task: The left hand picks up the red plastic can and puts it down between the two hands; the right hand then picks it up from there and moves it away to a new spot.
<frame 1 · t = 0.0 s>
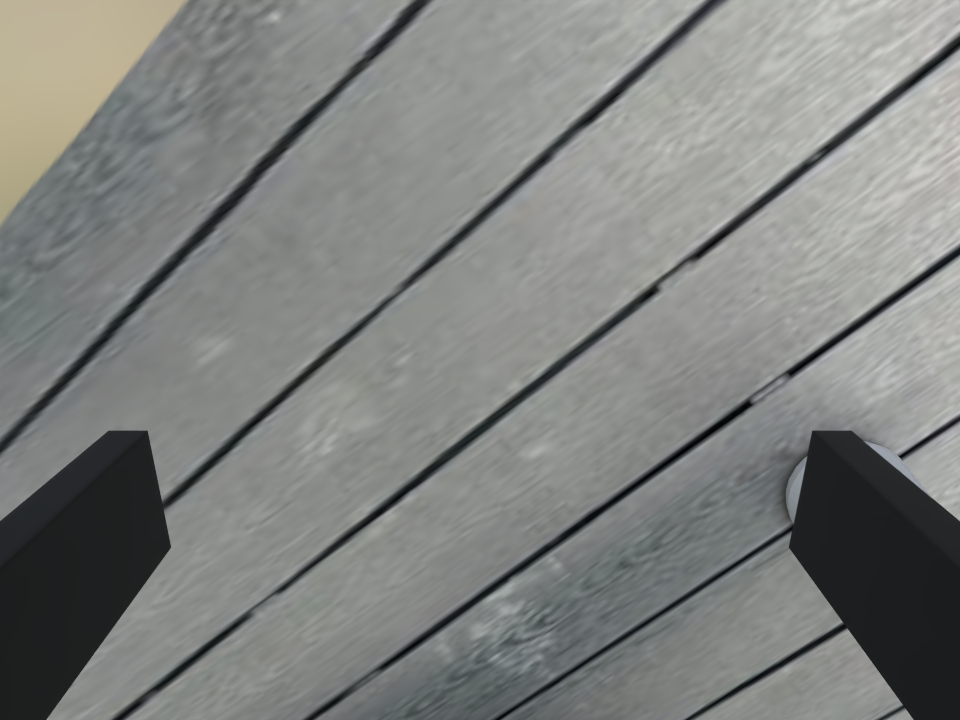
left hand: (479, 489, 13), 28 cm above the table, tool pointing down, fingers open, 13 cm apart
pendant light: (839, 486, 45), on the table
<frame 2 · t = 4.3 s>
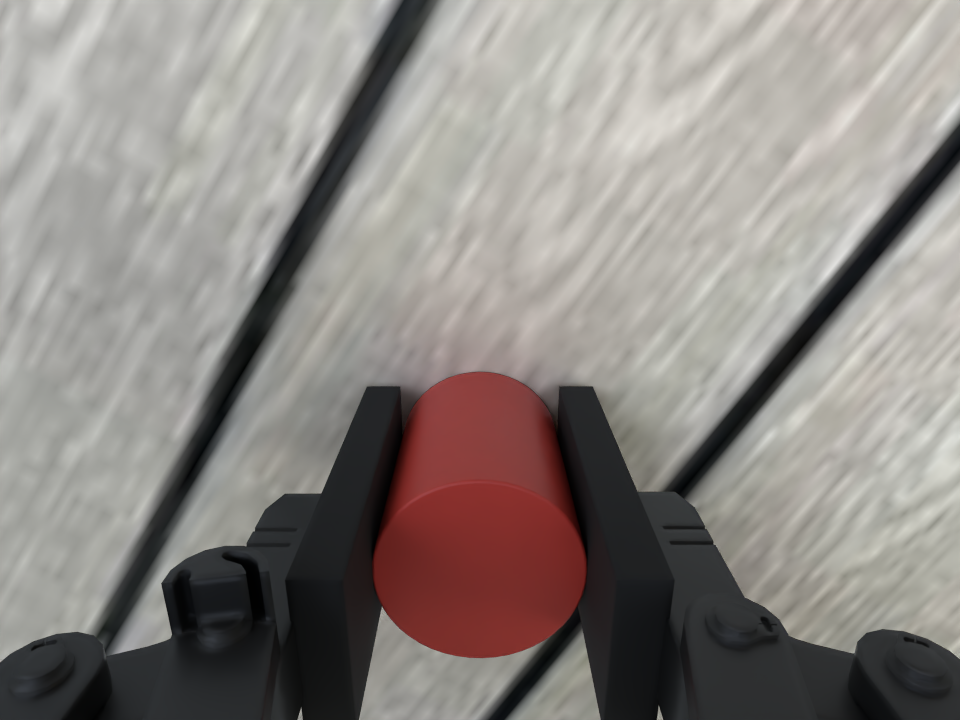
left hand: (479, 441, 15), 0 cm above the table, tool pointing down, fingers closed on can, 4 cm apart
can: (479, 442, 15), on the table, touching left hand
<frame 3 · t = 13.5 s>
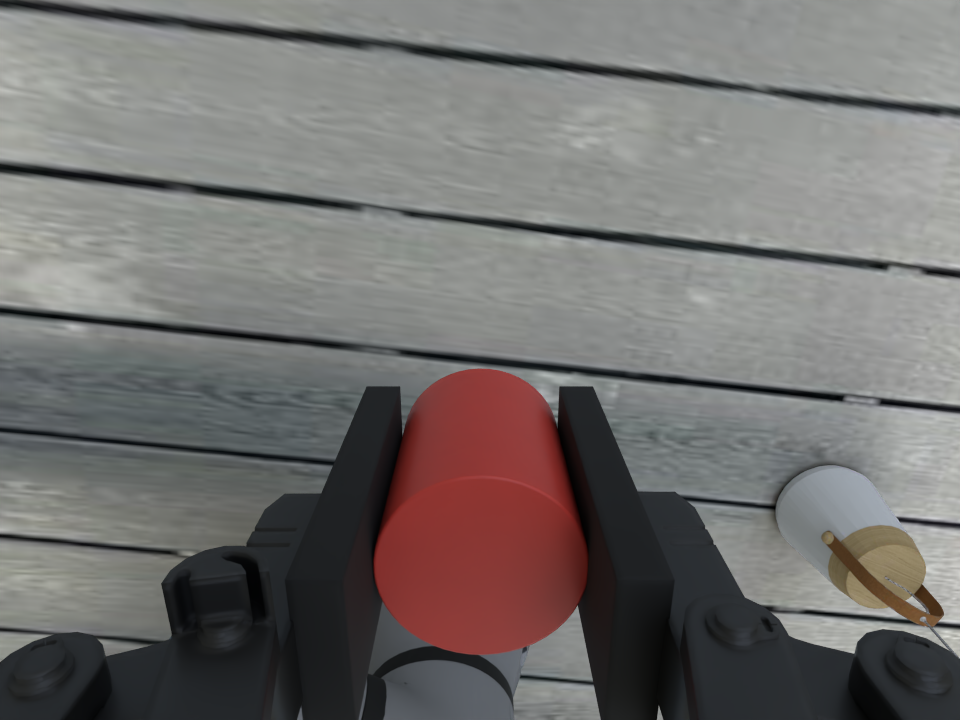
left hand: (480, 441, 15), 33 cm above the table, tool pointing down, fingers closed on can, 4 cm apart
pendant light: (820, 504, 54), on the table
can: (480, 439, 15), point 33 cm above the table, touching left hand
when the left hand's fingers open (1 cm above the table, at t = 22.7 s): can stays where it is, on the table.
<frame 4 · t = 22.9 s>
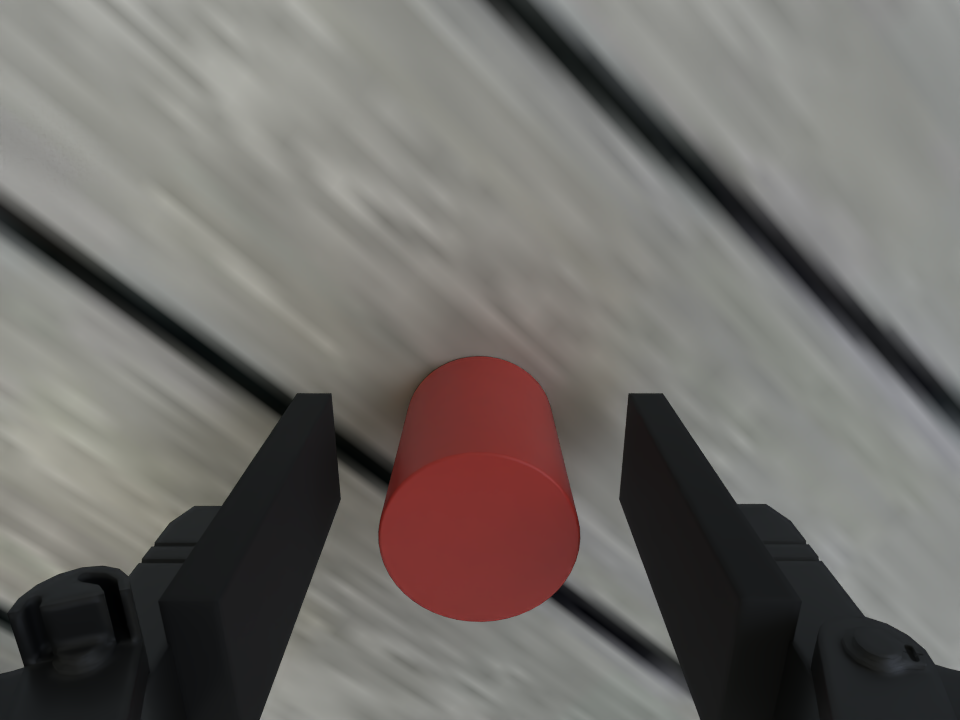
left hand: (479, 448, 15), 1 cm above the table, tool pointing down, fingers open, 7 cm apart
can: (479, 423, 16), on the table
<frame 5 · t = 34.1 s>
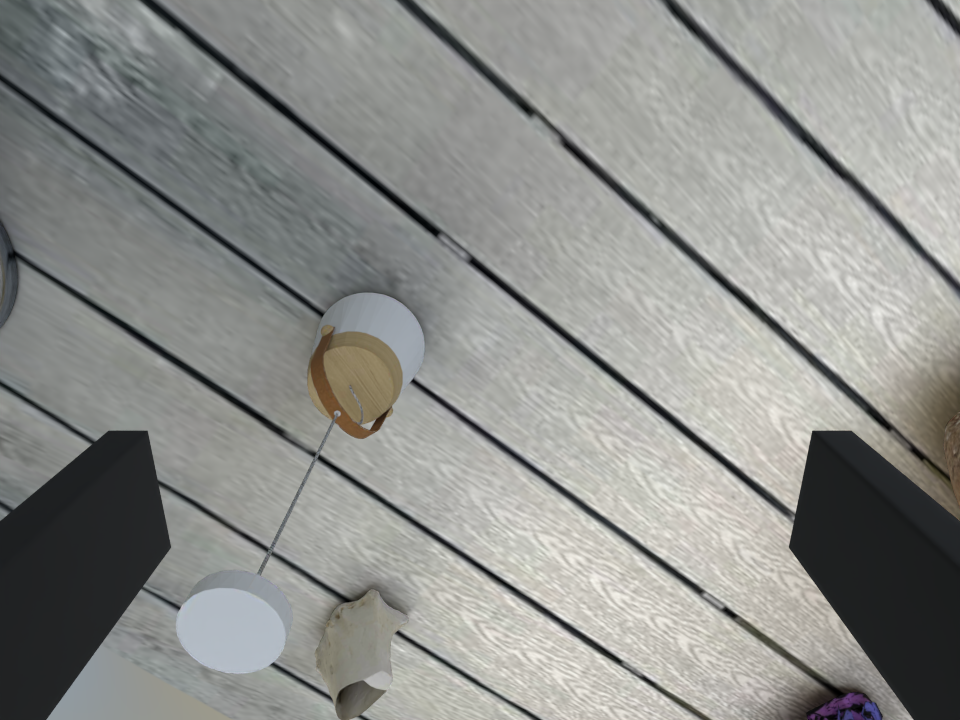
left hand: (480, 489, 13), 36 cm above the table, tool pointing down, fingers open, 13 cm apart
bone: (361, 619, 59), on the table
pendant light: (373, 340, 50), on the table
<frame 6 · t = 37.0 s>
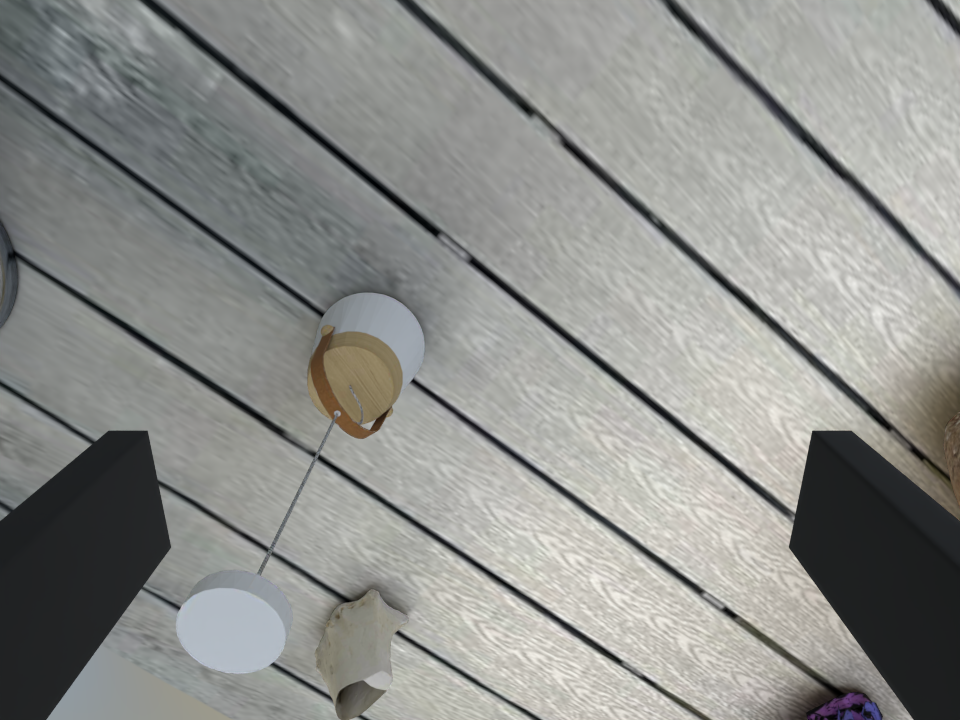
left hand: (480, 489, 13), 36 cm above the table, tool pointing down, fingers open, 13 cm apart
bone: (361, 619, 59), on the table
pendant light: (373, 340, 50), on the table
when the right hand's fingers open (2 cm above the table, at t = 40.2 s): can drops 1 cm, on the table.
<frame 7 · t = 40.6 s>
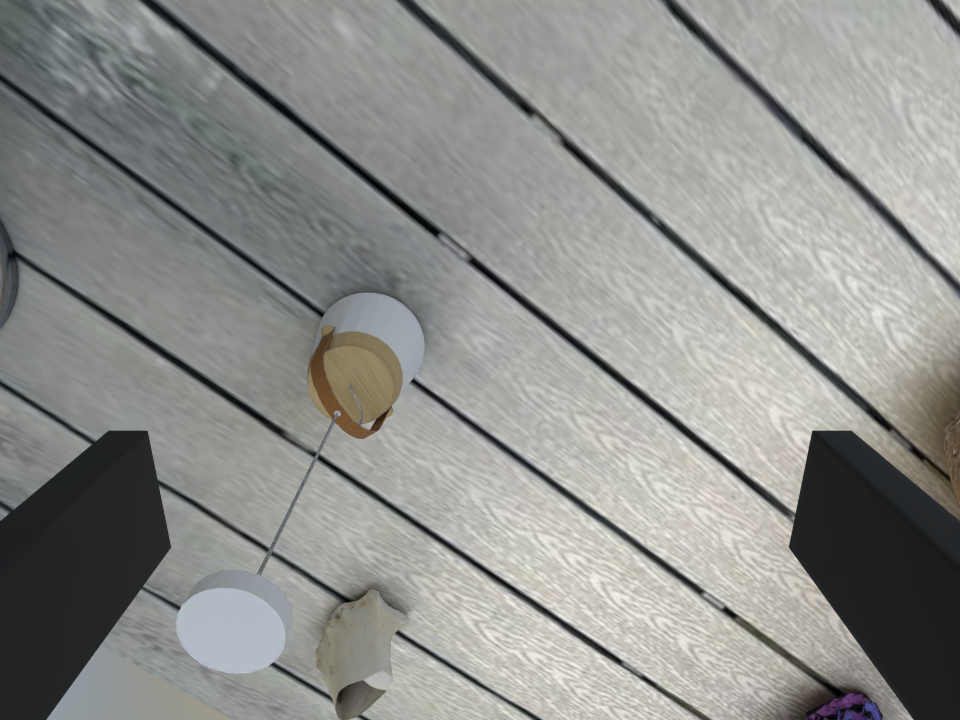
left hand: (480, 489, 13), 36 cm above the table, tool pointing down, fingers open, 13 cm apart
bone: (361, 619, 59), on the table
pendant light: (373, 340, 50), on the table
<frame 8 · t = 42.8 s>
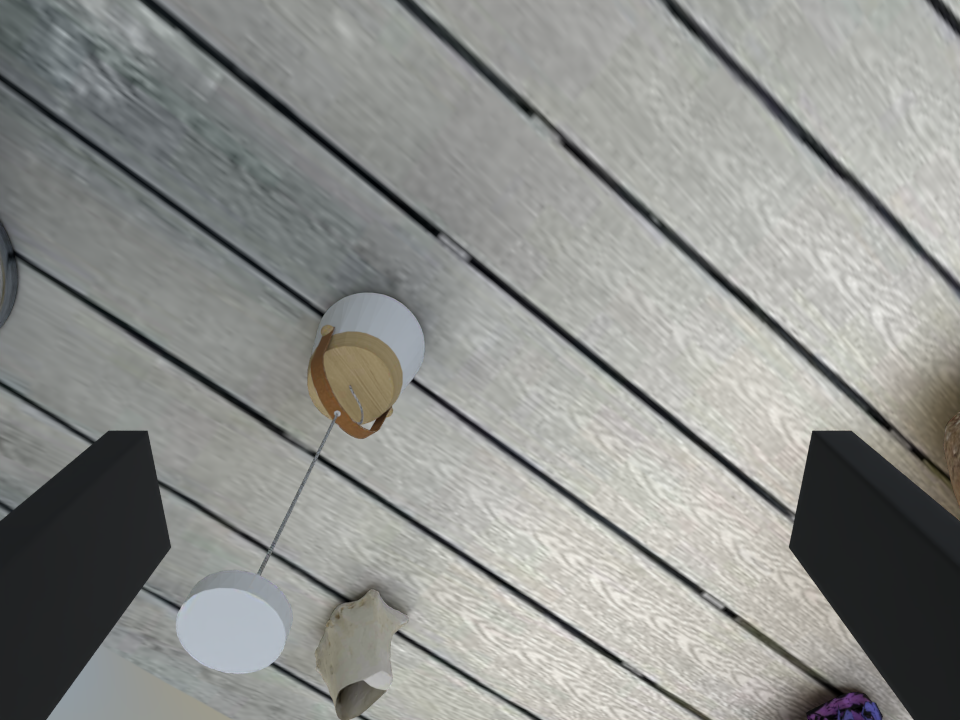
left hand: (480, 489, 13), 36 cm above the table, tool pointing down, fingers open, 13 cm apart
bone: (361, 619, 59), on the table
pendant light: (373, 340, 50), on the table
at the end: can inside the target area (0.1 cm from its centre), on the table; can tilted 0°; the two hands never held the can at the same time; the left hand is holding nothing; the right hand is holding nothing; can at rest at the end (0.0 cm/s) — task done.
